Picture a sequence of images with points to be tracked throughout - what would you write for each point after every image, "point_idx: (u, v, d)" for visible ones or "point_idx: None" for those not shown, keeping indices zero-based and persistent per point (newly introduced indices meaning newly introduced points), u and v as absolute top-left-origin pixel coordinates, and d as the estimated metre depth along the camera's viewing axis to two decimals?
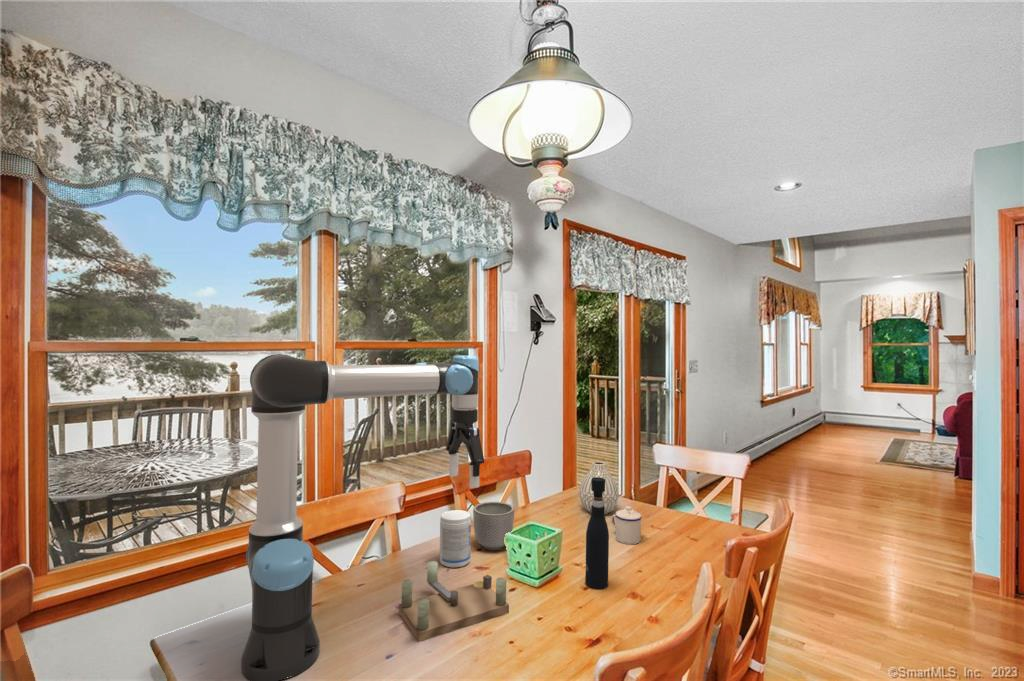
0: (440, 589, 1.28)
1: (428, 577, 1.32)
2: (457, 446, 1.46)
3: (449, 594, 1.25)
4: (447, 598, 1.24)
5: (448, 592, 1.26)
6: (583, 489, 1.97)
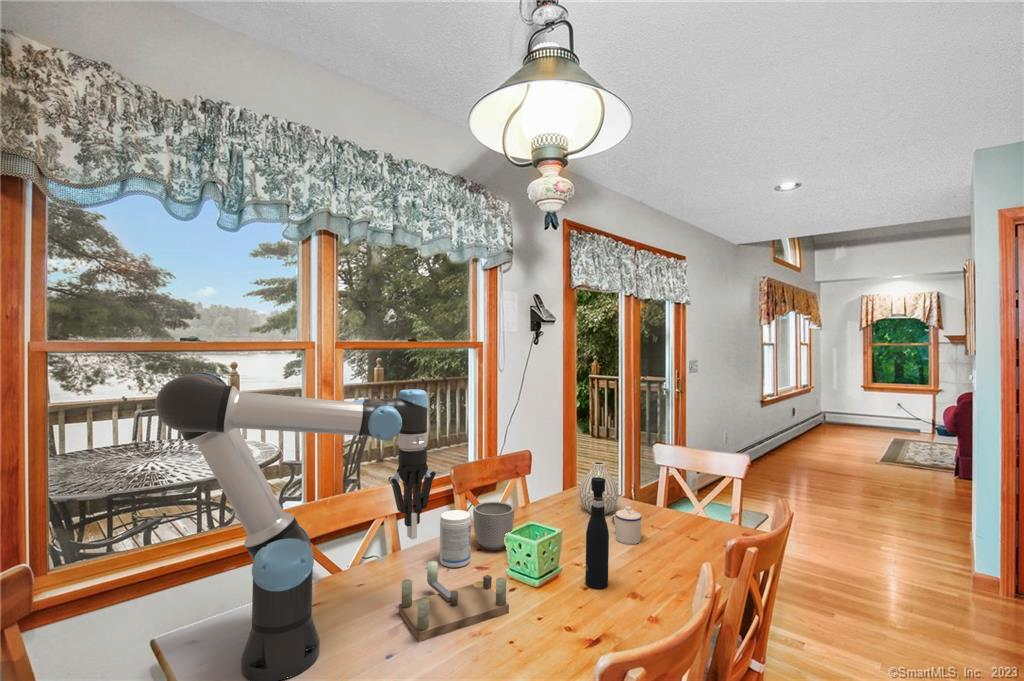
0: (440, 589, 1.28)
1: (428, 577, 1.32)
2: (415, 498, 1.29)
3: (449, 594, 1.25)
4: (447, 598, 1.24)
5: (448, 592, 1.26)
6: (583, 489, 1.97)
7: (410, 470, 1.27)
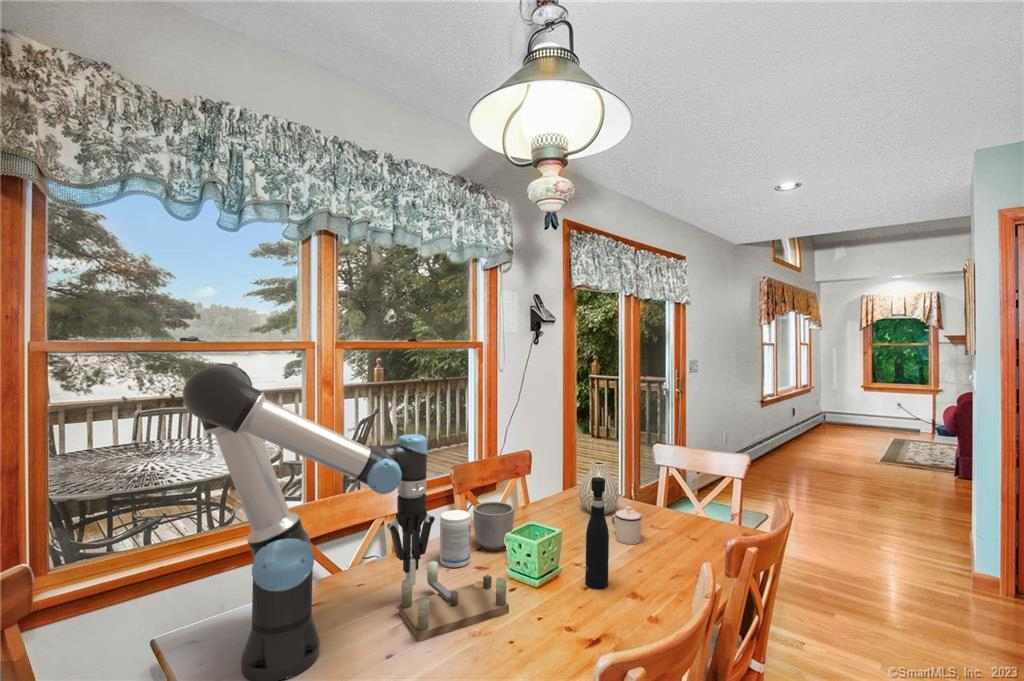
0: (440, 589, 1.28)
1: (428, 577, 1.32)
2: (414, 544, 1.29)
3: (449, 594, 1.25)
4: (447, 598, 1.24)
5: (448, 592, 1.26)
6: (583, 489, 1.97)
7: (409, 516, 1.27)
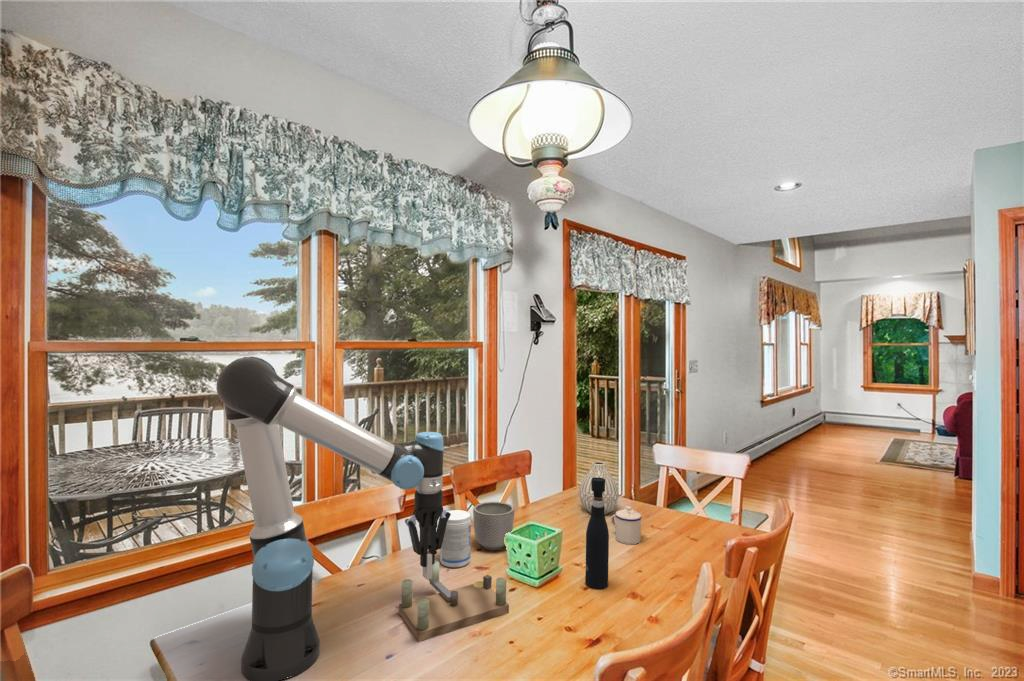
0: (441, 589, 1.28)
1: None
2: (430, 539, 1.32)
3: (449, 594, 1.25)
4: (447, 598, 1.24)
5: (449, 592, 1.26)
6: (583, 489, 1.97)
7: (426, 512, 1.30)
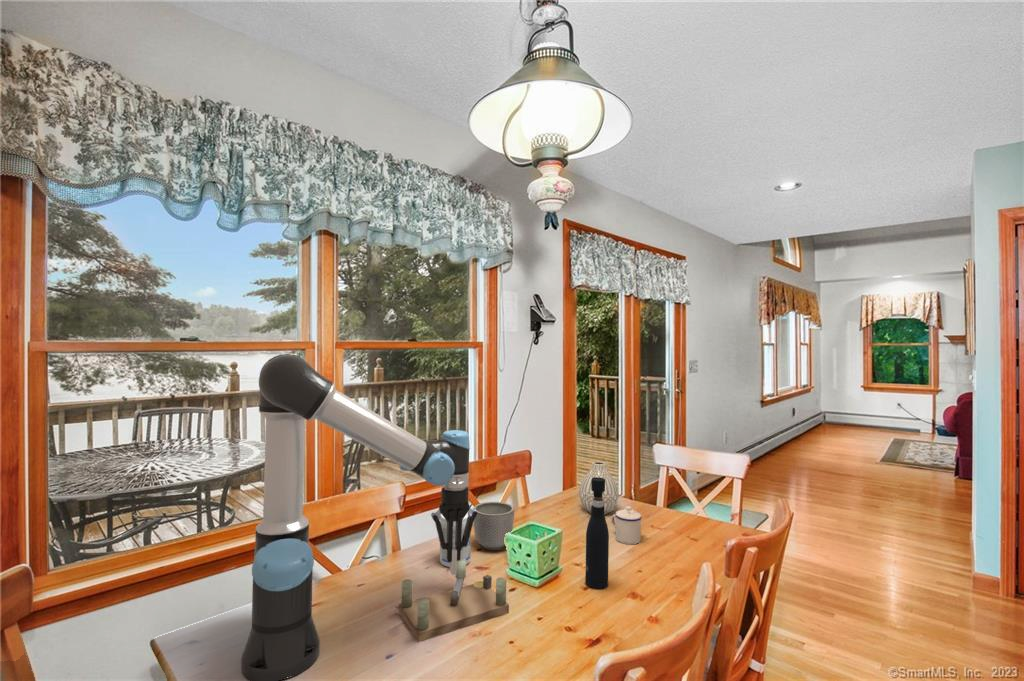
0: (455, 586, 1.29)
1: None
2: (456, 535, 1.35)
3: None
4: None
5: (457, 591, 1.27)
6: (583, 489, 1.97)
7: (451, 508, 1.34)
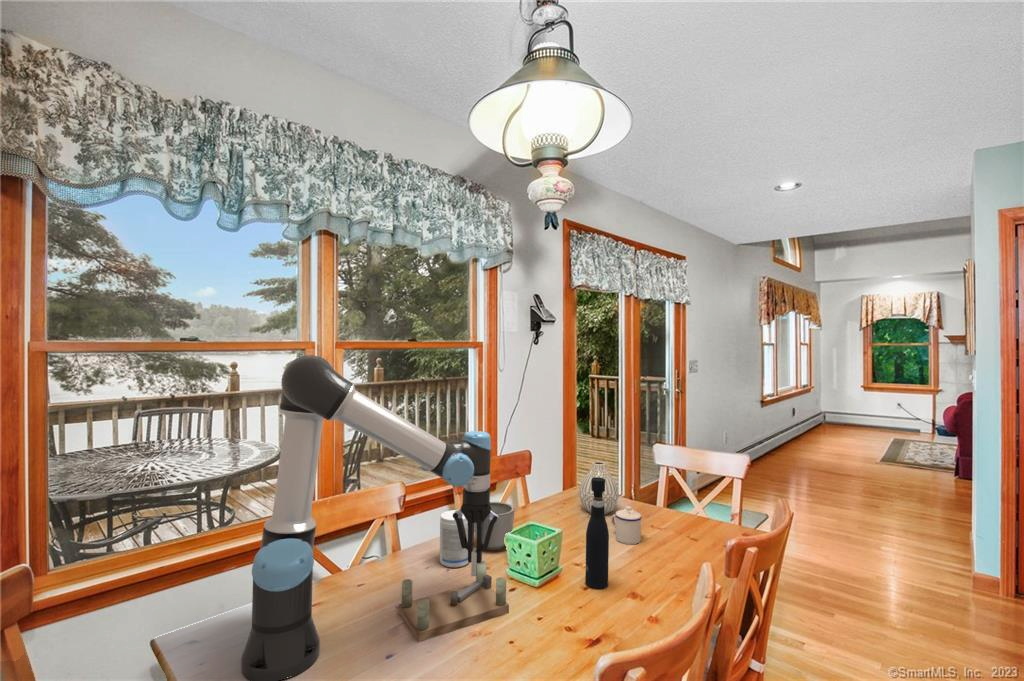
0: (467, 588, 1.29)
1: None
2: None
3: (460, 594, 1.25)
4: None
5: (464, 593, 1.26)
6: (583, 489, 1.97)
7: (470, 509, 1.34)
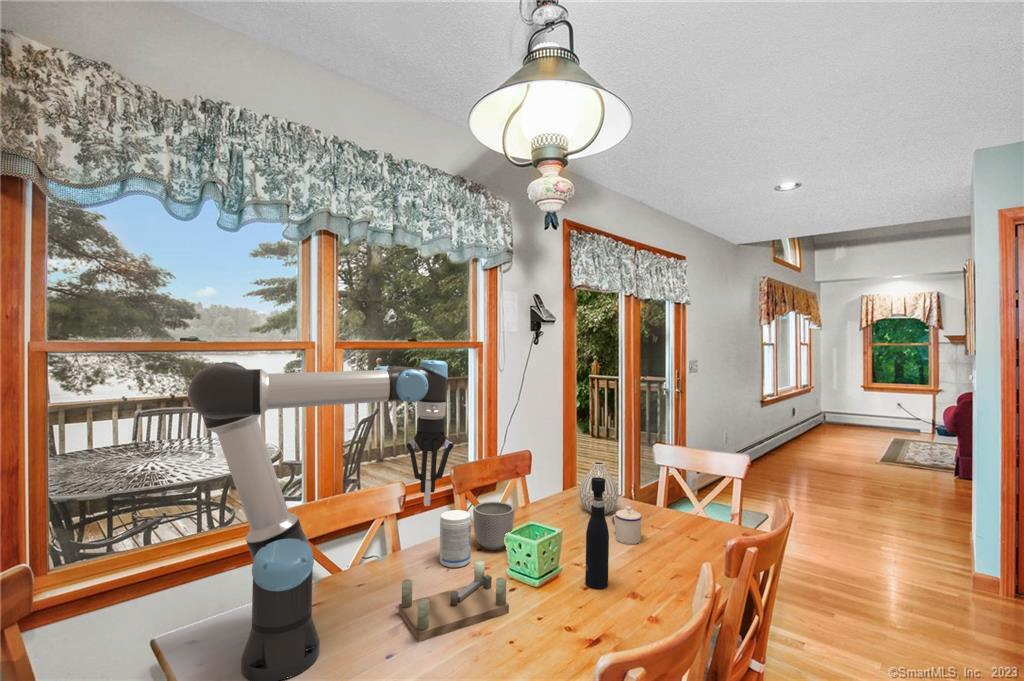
0: (466, 587, 1.29)
1: None
2: (431, 466, 1.32)
3: (460, 594, 1.25)
4: None
5: (463, 593, 1.26)
6: (583, 489, 1.97)
7: (426, 438, 1.31)
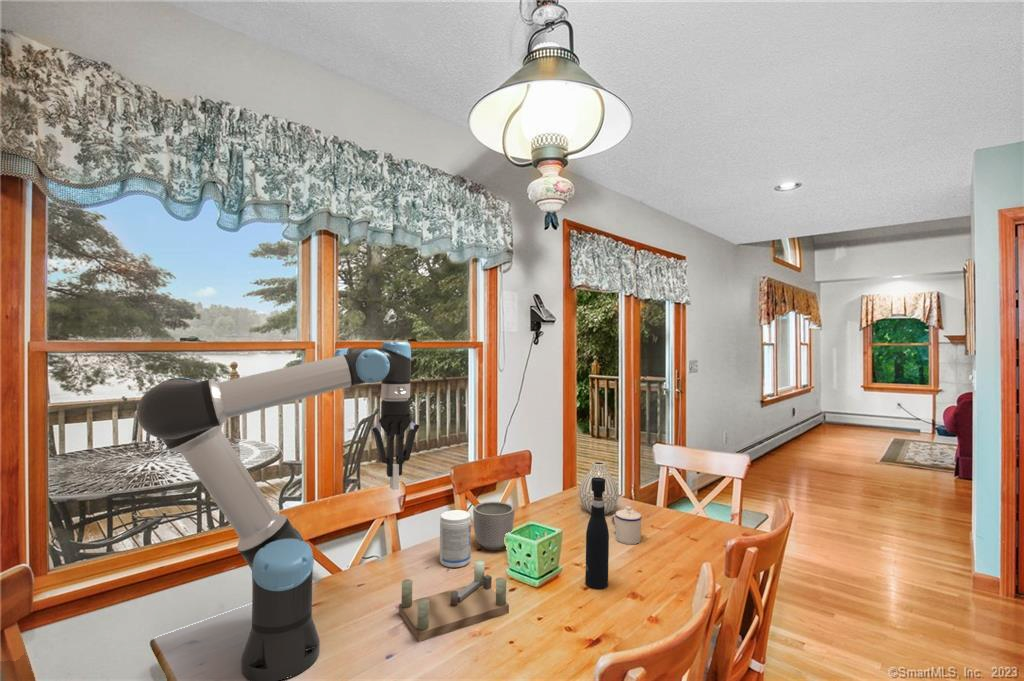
0: (466, 587, 1.29)
1: None
2: (397, 449, 1.29)
3: (460, 594, 1.25)
4: None
5: (463, 593, 1.26)
6: (583, 489, 1.97)
7: (392, 421, 1.28)
